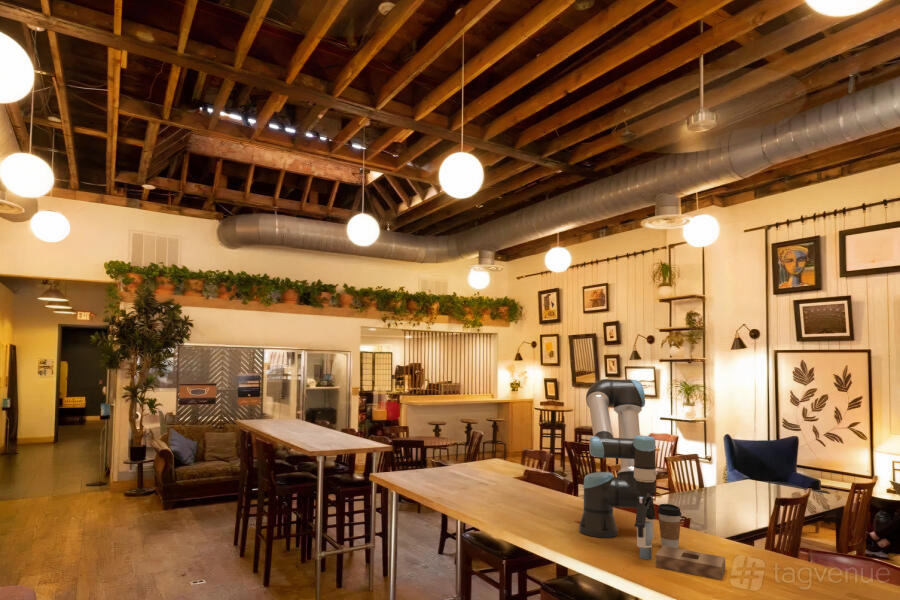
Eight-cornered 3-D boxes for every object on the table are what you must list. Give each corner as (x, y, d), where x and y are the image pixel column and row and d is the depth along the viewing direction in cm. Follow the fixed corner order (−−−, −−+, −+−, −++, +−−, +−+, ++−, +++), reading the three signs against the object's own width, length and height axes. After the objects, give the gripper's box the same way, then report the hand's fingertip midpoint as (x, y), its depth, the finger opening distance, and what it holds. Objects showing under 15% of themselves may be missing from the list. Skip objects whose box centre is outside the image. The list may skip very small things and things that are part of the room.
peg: (638, 558, 197) (638, 522, 199) (641, 555, 201) (640, 520, 202) (650, 560, 195) (650, 524, 197) (652, 557, 199) (652, 522, 200)
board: (655, 567, 189) (655, 554, 189) (662, 557, 199) (662, 545, 199) (721, 580, 179) (721, 567, 179) (725, 569, 189) (725, 557, 189)
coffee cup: (676, 544, 215) (675, 503, 217) (686, 551, 207) (685, 509, 209) (654, 543, 215) (654, 503, 217) (663, 551, 207) (663, 508, 208)
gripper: (648, 486, 189) (649, 553, 186) (662, 476, 210) (663, 536, 207) (625, 483, 193) (626, 548, 190) (641, 474, 214) (642, 532, 211)
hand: (645, 542), depth 198 cm, fingers open, 13 cm apart
